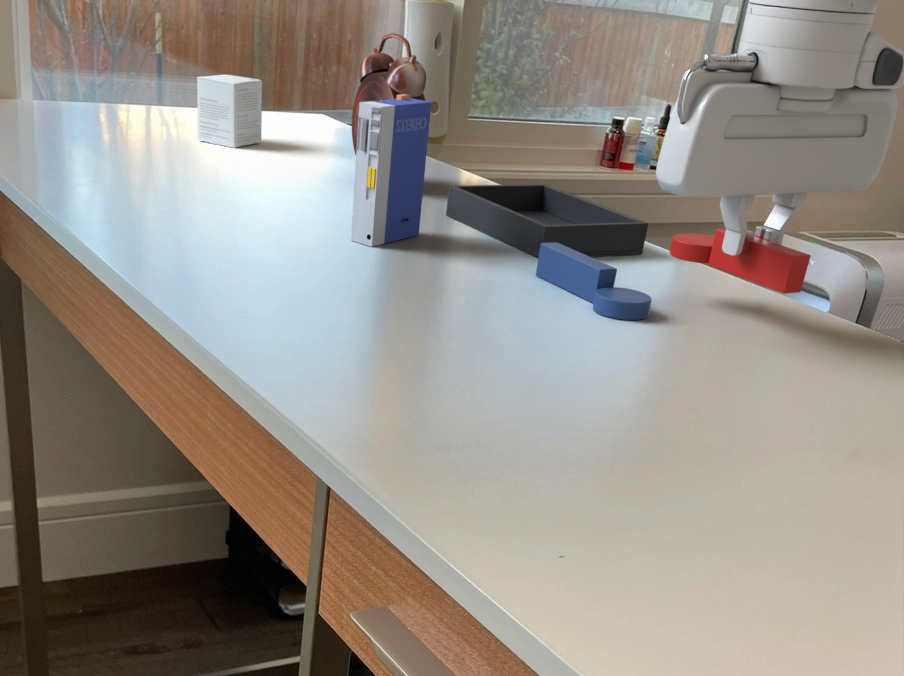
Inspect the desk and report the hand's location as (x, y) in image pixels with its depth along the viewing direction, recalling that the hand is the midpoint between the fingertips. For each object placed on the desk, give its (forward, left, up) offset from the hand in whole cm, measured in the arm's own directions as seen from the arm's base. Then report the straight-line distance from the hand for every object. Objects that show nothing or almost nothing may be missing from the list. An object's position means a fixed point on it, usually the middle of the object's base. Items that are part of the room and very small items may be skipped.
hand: (750, 252), depth 90 cm
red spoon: (+1, -1, -2) cm, 2 cm away
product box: (+39, -73, -6) cm, 82 cm away
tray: (+9, -29, -5) cm, 30 cm away
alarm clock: (+22, -51, -6) cm, 55 cm away
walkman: (+26, -24, -6) cm, 35 cm away
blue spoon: (+11, -6, -5) cm, 13 cm away
